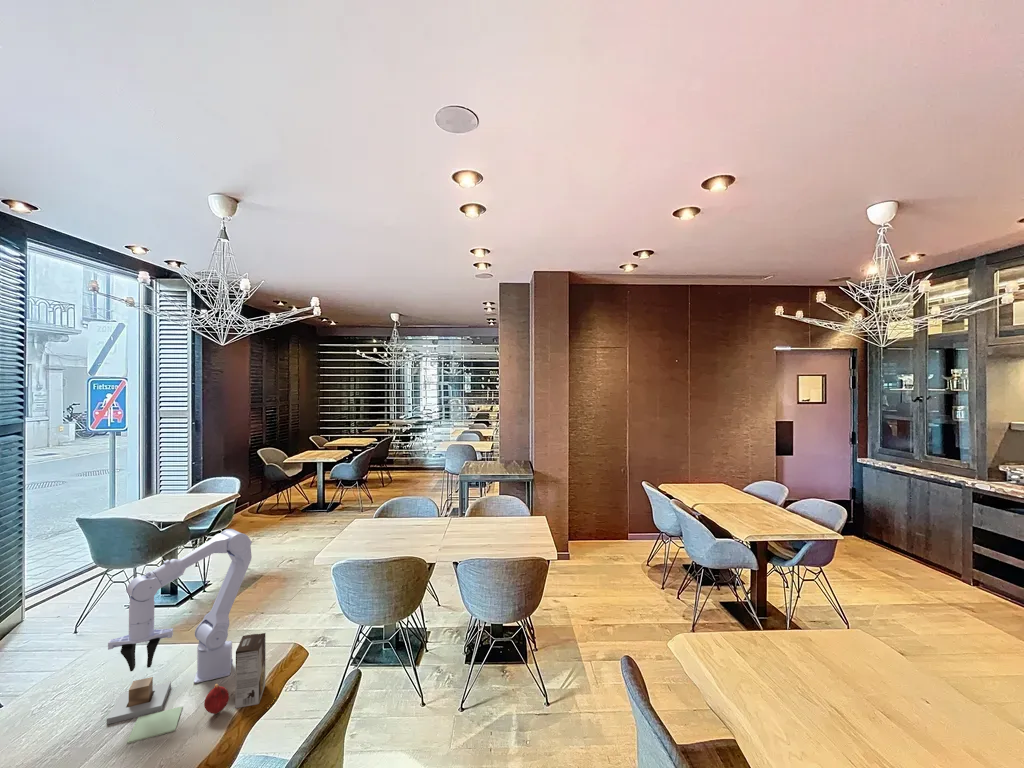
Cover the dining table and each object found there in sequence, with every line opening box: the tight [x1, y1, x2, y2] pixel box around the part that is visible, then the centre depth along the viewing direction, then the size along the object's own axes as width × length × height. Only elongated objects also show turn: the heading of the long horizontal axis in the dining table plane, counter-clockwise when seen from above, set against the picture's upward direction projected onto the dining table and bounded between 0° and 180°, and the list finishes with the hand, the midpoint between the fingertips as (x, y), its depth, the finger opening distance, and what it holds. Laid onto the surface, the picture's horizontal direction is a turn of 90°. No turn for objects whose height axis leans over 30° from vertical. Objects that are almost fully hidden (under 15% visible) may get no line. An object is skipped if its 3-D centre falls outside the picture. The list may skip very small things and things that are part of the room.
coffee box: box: [234, 632, 266, 709], centre depth 136 cm, size 9×6×16 cm
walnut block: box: [128, 676, 154, 707], centre depth 132 cm, size 4×4×6 cm
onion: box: [203, 683, 230, 715], centre depth 129 cm, size 6×6×8 cm
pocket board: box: [106, 681, 172, 725], centre depth 132 cm, size 12×12×2 cm
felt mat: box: [126, 706, 183, 744], centre depth 124 cm, size 10×10×1 cm
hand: (141, 667), depth 133 cm, fingers open, 3 cm apart
